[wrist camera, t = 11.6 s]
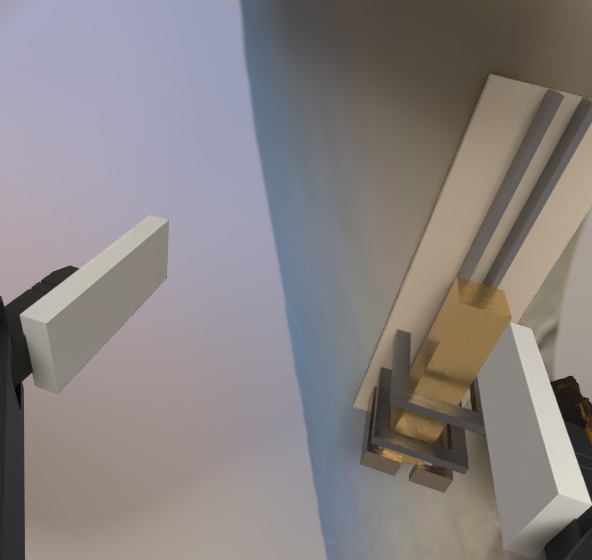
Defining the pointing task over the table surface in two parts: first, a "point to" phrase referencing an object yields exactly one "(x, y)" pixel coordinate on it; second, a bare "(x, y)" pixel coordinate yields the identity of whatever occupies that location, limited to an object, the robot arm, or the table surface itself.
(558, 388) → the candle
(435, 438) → the long golden plank
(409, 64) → the table surface
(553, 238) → the long cream board
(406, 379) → the collar
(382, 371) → the collar
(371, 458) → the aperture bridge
